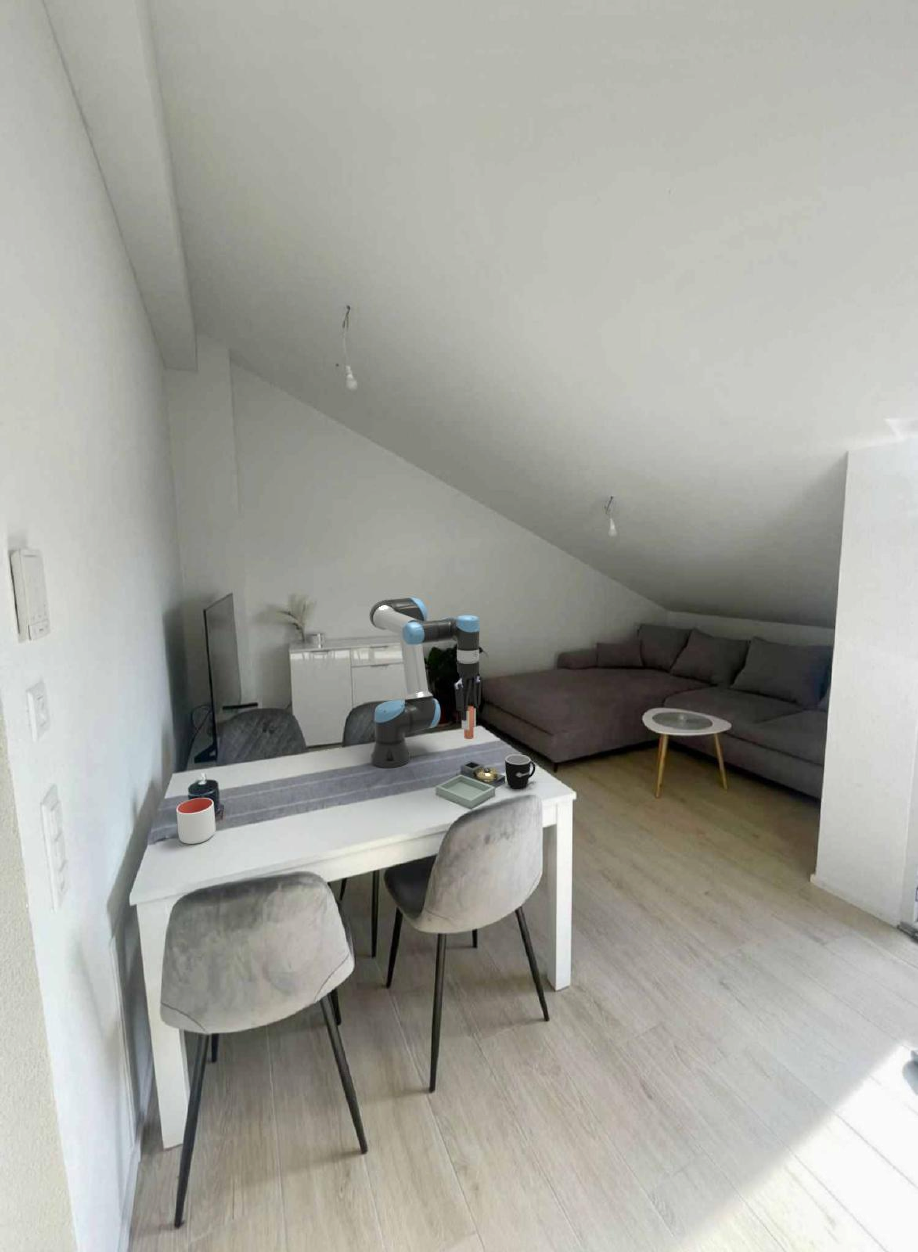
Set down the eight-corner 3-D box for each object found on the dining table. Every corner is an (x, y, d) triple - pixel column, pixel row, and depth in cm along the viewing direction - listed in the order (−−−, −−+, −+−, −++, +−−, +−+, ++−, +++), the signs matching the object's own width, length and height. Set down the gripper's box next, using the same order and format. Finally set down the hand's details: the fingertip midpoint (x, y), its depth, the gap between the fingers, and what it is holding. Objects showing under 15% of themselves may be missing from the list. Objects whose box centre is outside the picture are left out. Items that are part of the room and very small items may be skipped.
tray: (435, 794, 193) (435, 786, 193) (460, 782, 203) (460, 774, 203) (471, 809, 183) (471, 800, 182) (495, 795, 193) (495, 787, 192)
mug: (513, 793, 194) (514, 766, 192) (500, 783, 202) (500, 757, 200) (541, 786, 199) (542, 759, 198) (527, 777, 207) (528, 751, 206)
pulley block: (505, 782, 203) (505, 768, 202) (488, 791, 195) (488, 777, 194) (473, 771, 212) (473, 757, 212) (456, 779, 205) (456, 765, 204)
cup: (187, 828, 171) (184, 798, 170) (220, 827, 172) (218, 797, 171) (173, 846, 162) (170, 814, 160) (209, 845, 162) (206, 813, 161)
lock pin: (462, 737, 194) (462, 707, 192) (468, 735, 196) (468, 705, 194) (469, 739, 192) (469, 708, 190) (475, 737, 194) (475, 706, 192)
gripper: (462, 666, 181) (462, 736, 185) (491, 658, 193) (491, 723, 197) (444, 663, 186) (445, 731, 189) (473, 656, 198) (474, 719, 202)
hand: (468, 727), depth 193 cm, fingers closed on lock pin, 3 cm apart
